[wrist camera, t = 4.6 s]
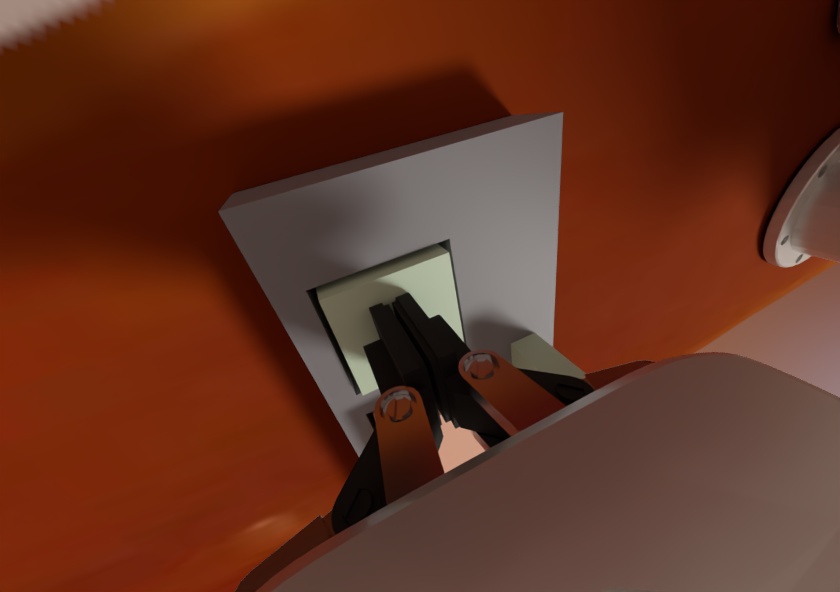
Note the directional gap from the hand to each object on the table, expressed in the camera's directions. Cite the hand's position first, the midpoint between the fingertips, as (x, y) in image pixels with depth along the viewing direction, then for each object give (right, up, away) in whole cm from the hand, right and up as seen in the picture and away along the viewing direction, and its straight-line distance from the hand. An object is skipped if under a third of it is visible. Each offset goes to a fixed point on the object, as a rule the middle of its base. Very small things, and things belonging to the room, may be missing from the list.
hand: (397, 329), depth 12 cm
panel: (+2, -3, +7) cm, 8 cm away
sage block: (-1, +1, +3) cm, 3 cm away
